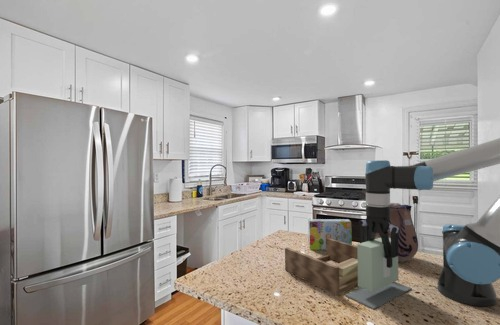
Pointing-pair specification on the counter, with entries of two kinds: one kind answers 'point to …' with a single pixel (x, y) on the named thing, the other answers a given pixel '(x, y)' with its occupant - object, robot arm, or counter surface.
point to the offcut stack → (348, 271)
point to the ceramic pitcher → (403, 231)
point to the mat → (378, 295)
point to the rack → (322, 265)
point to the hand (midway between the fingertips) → (378, 273)
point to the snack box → (328, 232)
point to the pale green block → (374, 266)
